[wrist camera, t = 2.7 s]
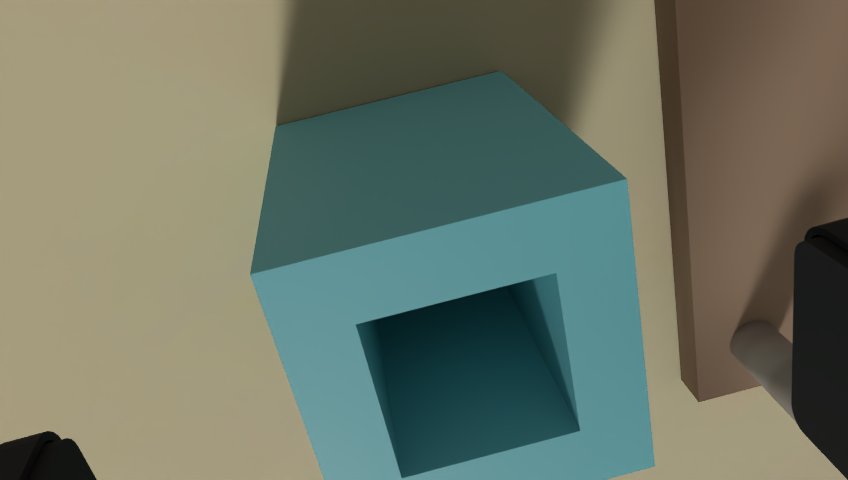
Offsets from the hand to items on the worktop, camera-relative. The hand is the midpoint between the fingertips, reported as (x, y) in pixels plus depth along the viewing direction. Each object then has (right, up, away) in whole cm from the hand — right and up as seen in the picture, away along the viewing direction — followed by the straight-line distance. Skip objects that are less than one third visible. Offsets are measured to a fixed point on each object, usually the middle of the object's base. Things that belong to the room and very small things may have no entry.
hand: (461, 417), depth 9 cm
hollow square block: (-1, +3, +7) cm, 8 cm away
